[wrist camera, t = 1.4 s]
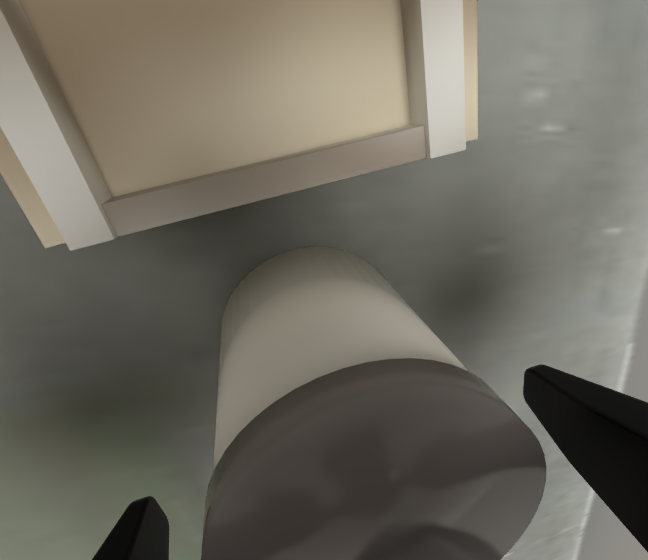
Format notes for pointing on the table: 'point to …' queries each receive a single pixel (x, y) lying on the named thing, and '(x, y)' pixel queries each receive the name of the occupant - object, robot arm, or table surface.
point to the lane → (220, 102)
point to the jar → (356, 428)
